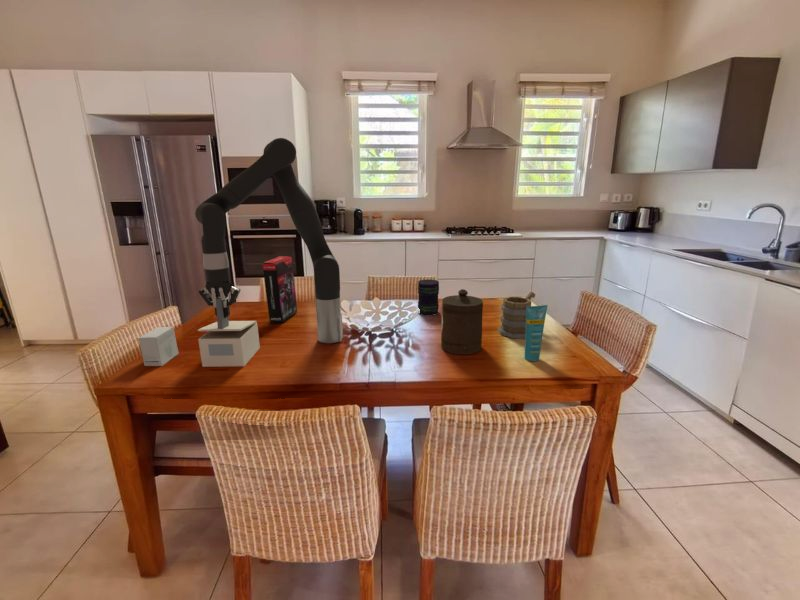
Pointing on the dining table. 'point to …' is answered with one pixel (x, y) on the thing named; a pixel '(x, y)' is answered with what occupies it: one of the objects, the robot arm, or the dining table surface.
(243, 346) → the carton
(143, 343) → the skincare box
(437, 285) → the storage jar
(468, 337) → the wooden container
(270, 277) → the graphics card box
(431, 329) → the dining table surface
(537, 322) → the tube
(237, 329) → the flap
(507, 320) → the tankard
